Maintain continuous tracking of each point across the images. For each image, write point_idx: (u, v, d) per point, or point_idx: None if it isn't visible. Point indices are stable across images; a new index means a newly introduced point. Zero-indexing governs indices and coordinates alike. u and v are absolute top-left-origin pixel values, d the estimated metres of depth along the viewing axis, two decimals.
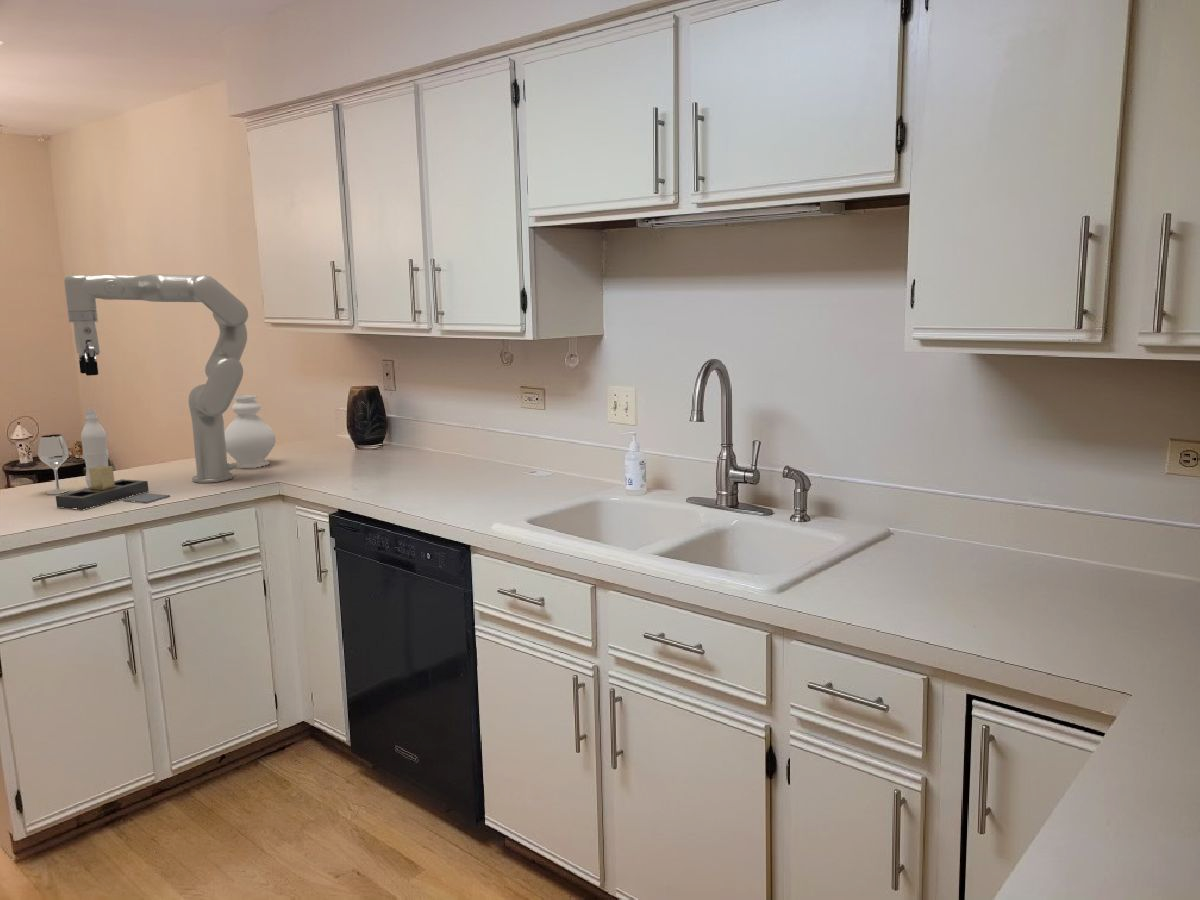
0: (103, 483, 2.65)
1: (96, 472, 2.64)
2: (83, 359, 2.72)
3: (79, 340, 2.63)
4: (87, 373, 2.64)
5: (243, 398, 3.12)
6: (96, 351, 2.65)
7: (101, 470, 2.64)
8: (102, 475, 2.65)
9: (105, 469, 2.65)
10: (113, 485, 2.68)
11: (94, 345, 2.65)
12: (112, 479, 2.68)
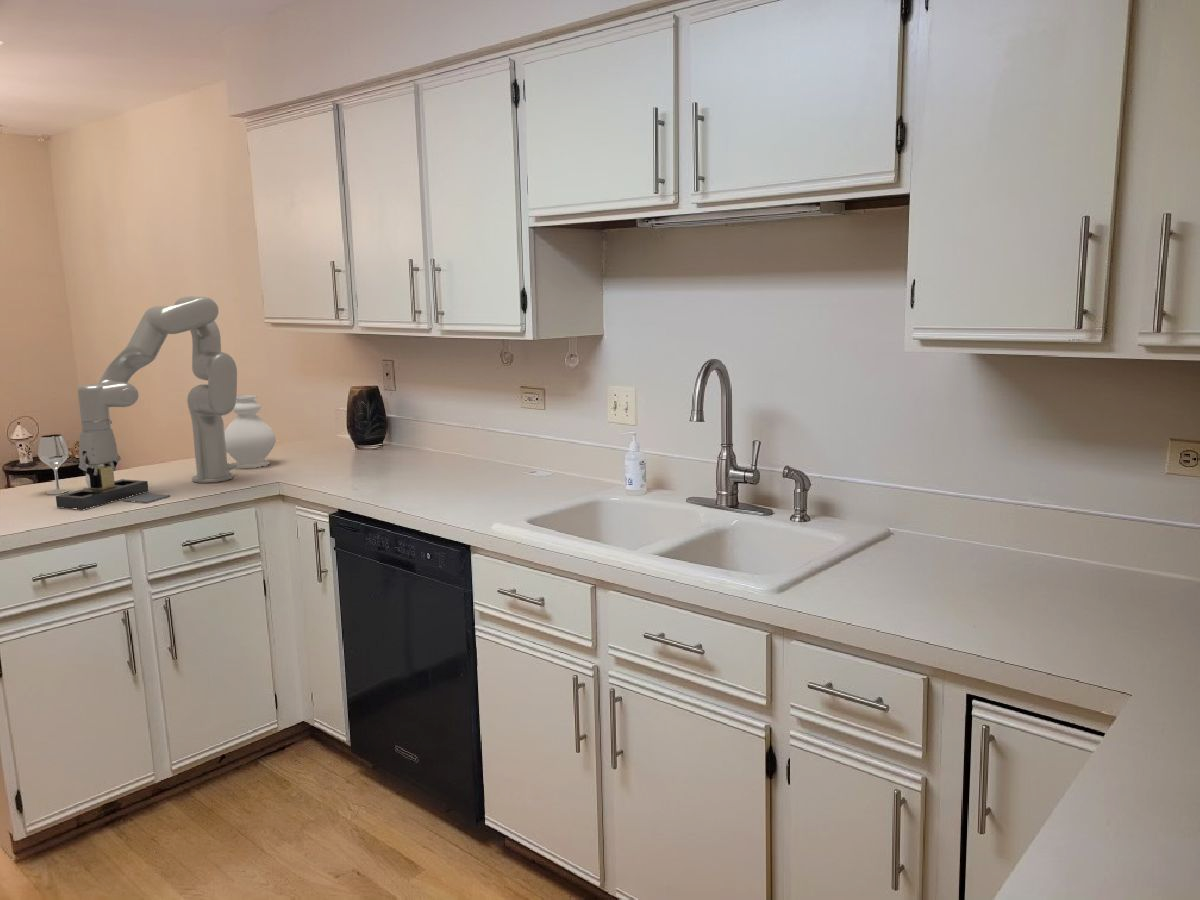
0: (103, 483, 2.65)
1: None
2: None
3: (114, 446, 2.68)
4: None
5: (243, 398, 3.12)
6: None
7: (101, 470, 2.64)
8: (102, 475, 2.65)
9: (105, 469, 2.65)
10: (113, 485, 2.68)
11: None
12: (112, 479, 2.68)
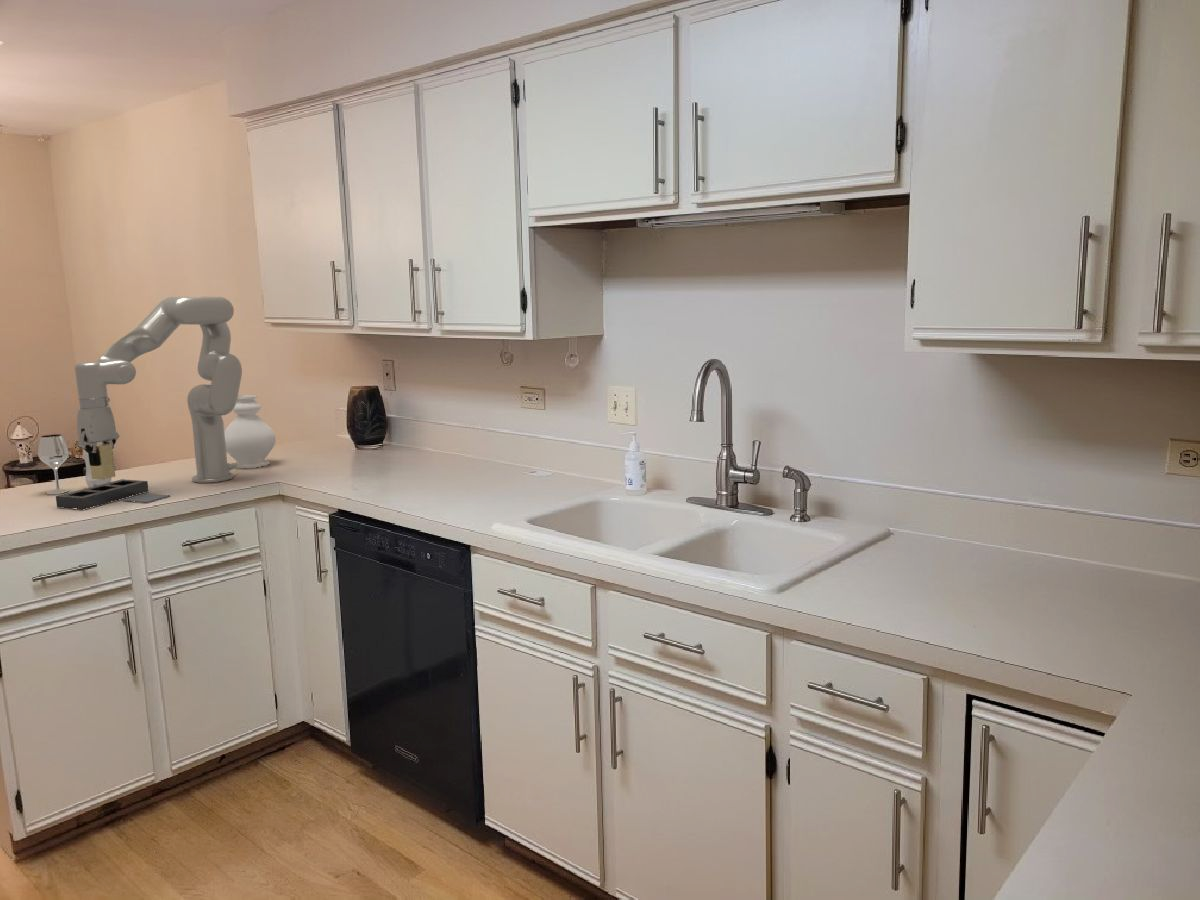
0: (102, 461, 2.64)
1: None
2: None
3: (113, 424, 2.67)
4: None
5: (243, 398, 3.12)
6: None
7: (100, 448, 2.63)
8: (101, 453, 2.64)
9: (104, 447, 2.64)
10: (112, 463, 2.68)
11: None
12: (111, 457, 2.67)
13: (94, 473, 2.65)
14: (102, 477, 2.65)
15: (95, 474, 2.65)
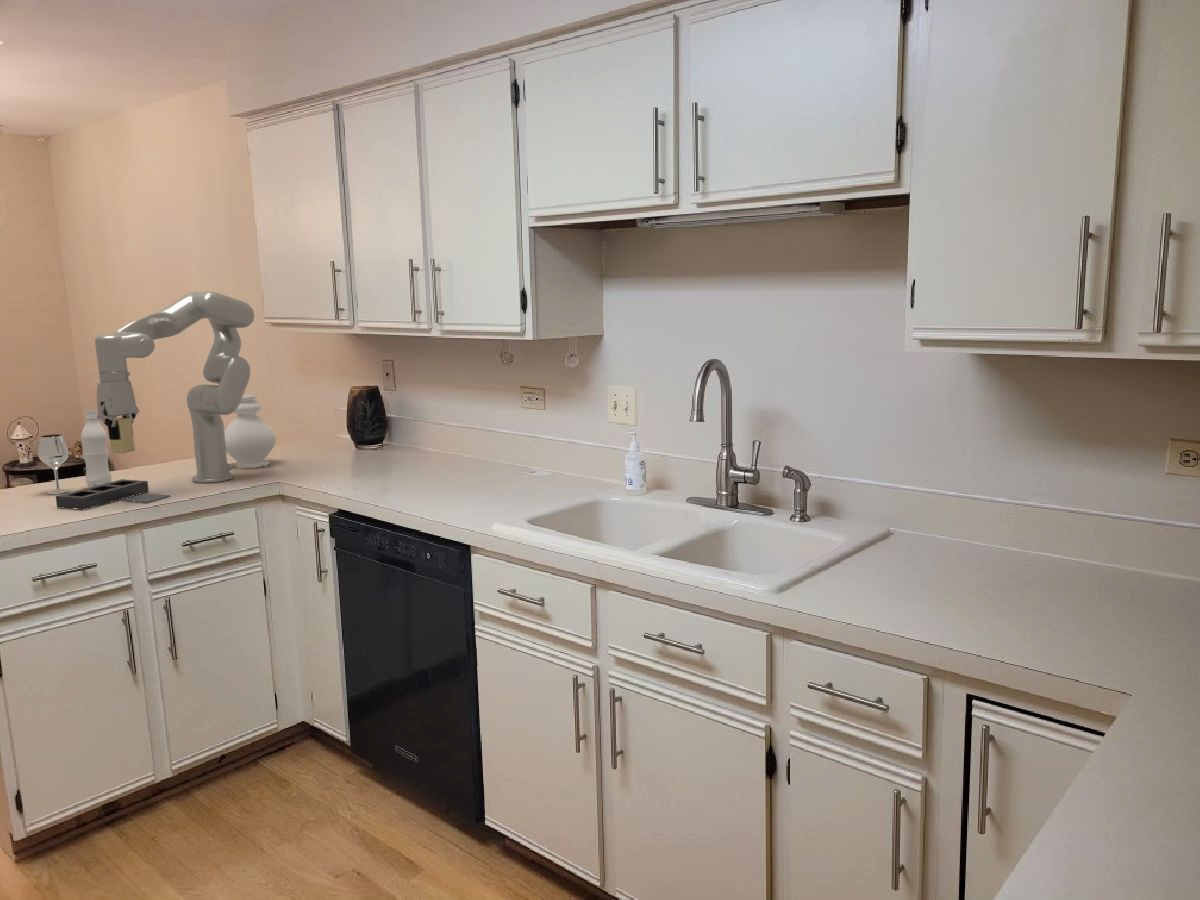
0: (121, 435, 2.63)
1: None
2: None
3: (133, 398, 2.66)
4: None
5: (243, 398, 3.12)
6: None
7: (119, 421, 2.62)
8: (121, 426, 2.62)
9: (123, 421, 2.63)
10: (131, 437, 2.66)
11: None
12: (130, 431, 2.66)
13: (114, 447, 2.64)
14: (121, 451, 2.63)
15: (114, 448, 2.64)
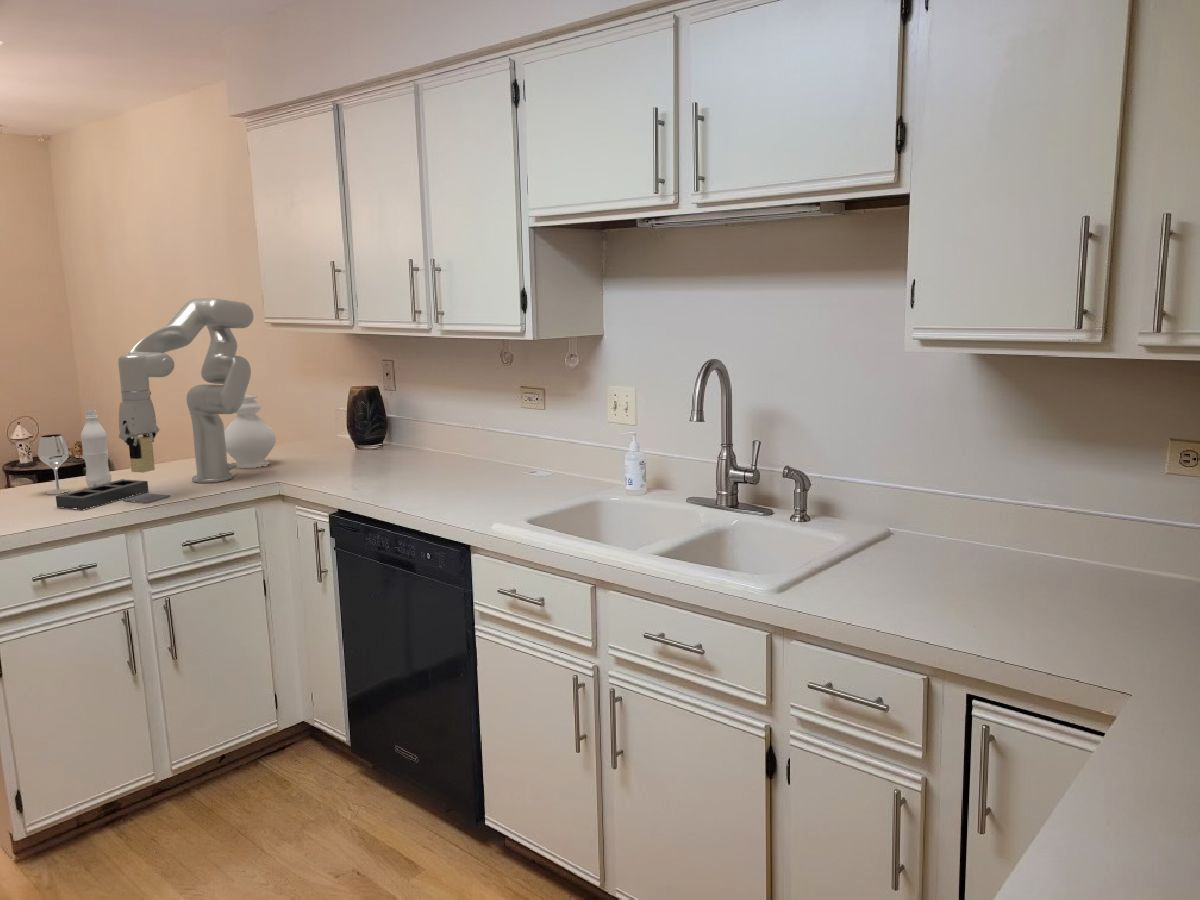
0: (142, 454, 2.63)
1: None
2: None
3: (154, 417, 2.67)
4: None
5: None
6: None
7: (141, 440, 2.63)
8: (142, 445, 2.63)
9: (144, 439, 2.64)
10: (152, 456, 2.67)
11: None
12: (151, 450, 2.66)
13: (134, 466, 2.64)
14: (142, 470, 2.64)
15: (135, 467, 2.64)
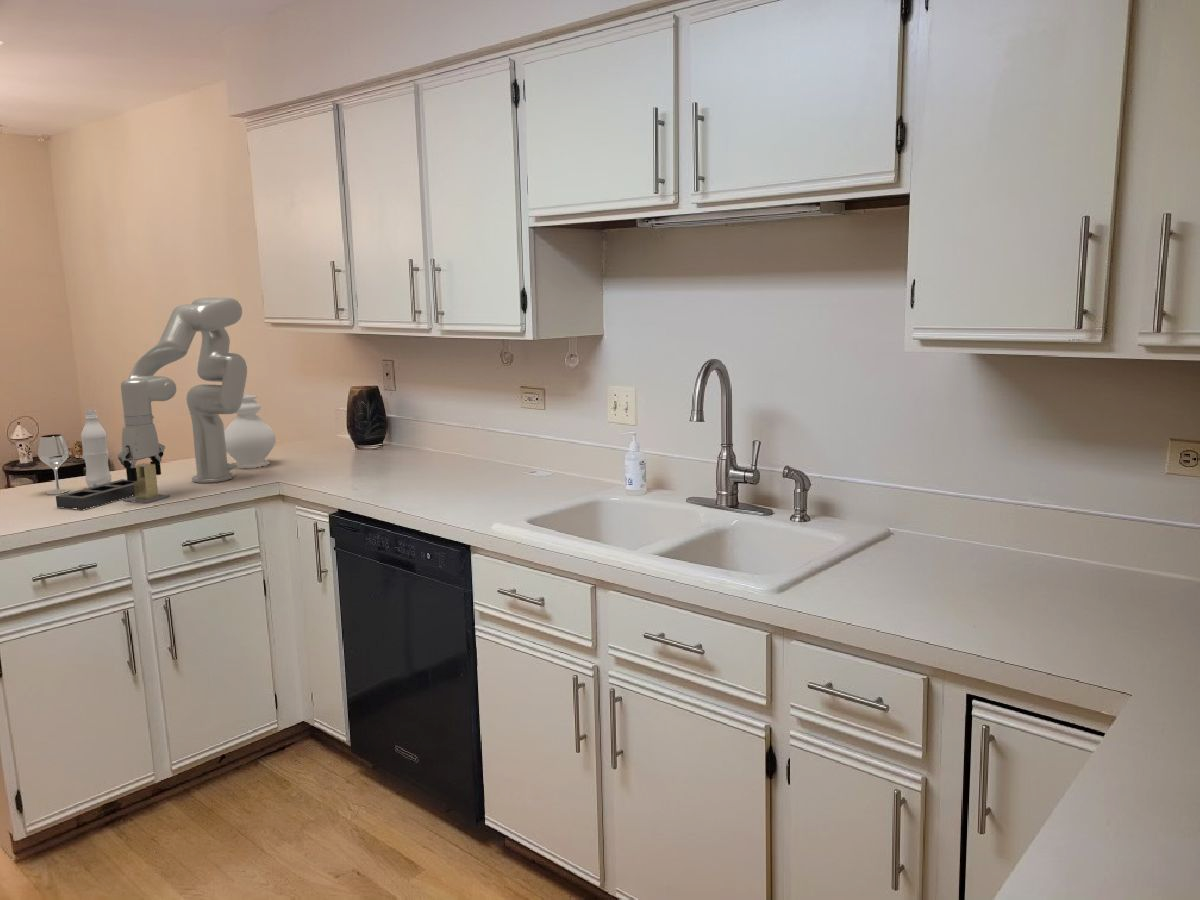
0: (146, 481, 2.65)
1: (139, 470, 2.65)
2: None
3: (156, 441, 2.68)
4: None
5: (243, 398, 3.11)
6: None
7: (144, 468, 2.64)
8: (145, 473, 2.65)
9: (148, 467, 2.66)
10: (155, 483, 2.69)
11: None
12: (154, 477, 2.68)
13: (138, 493, 2.66)
14: (146, 497, 2.66)
15: (139, 494, 2.66)
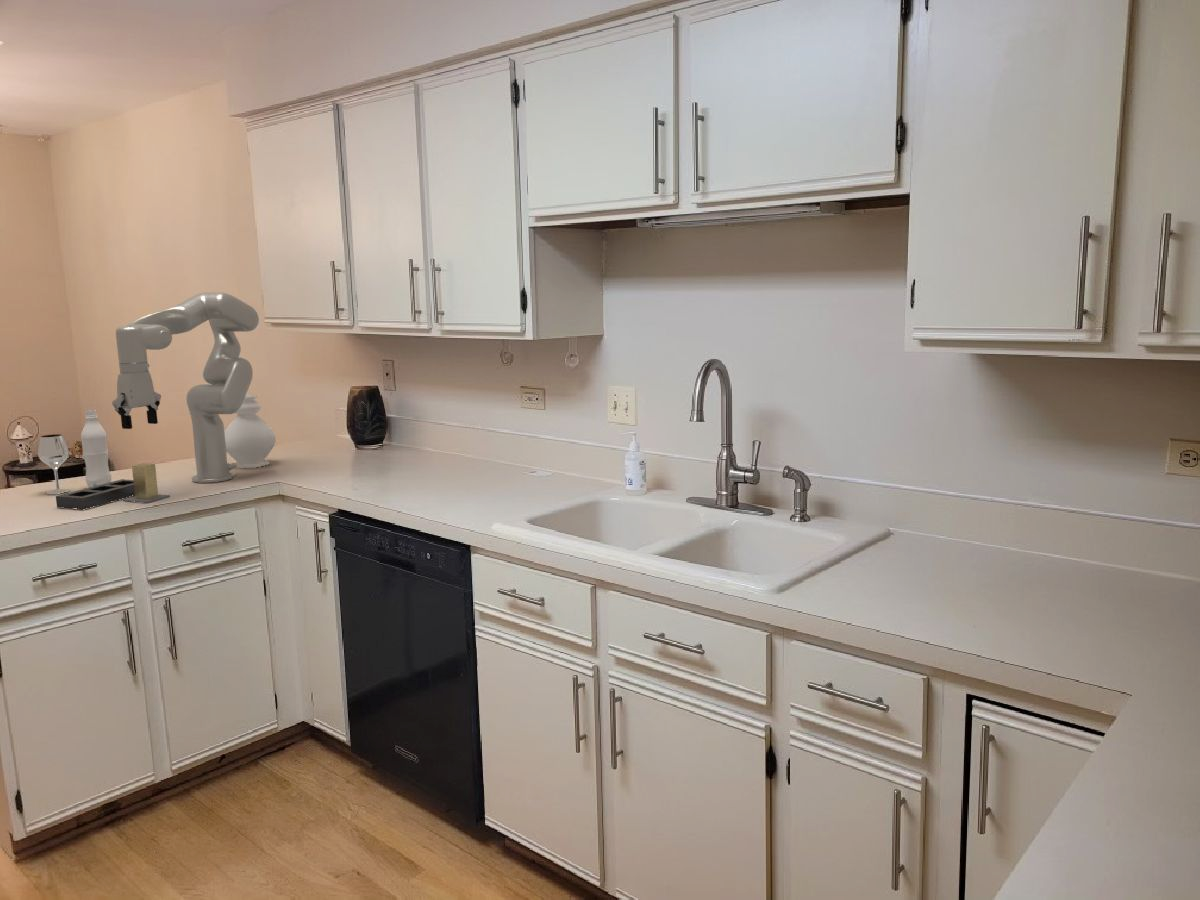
0: (146, 481, 2.65)
1: (139, 470, 2.65)
2: None
3: (152, 390, 2.66)
4: None
5: None
6: None
7: (144, 468, 2.64)
8: (145, 473, 2.65)
9: (148, 467, 2.66)
10: (155, 483, 2.69)
11: None
12: (154, 477, 2.68)
13: (138, 493, 2.66)
14: (146, 497, 2.66)
15: (139, 494, 2.66)
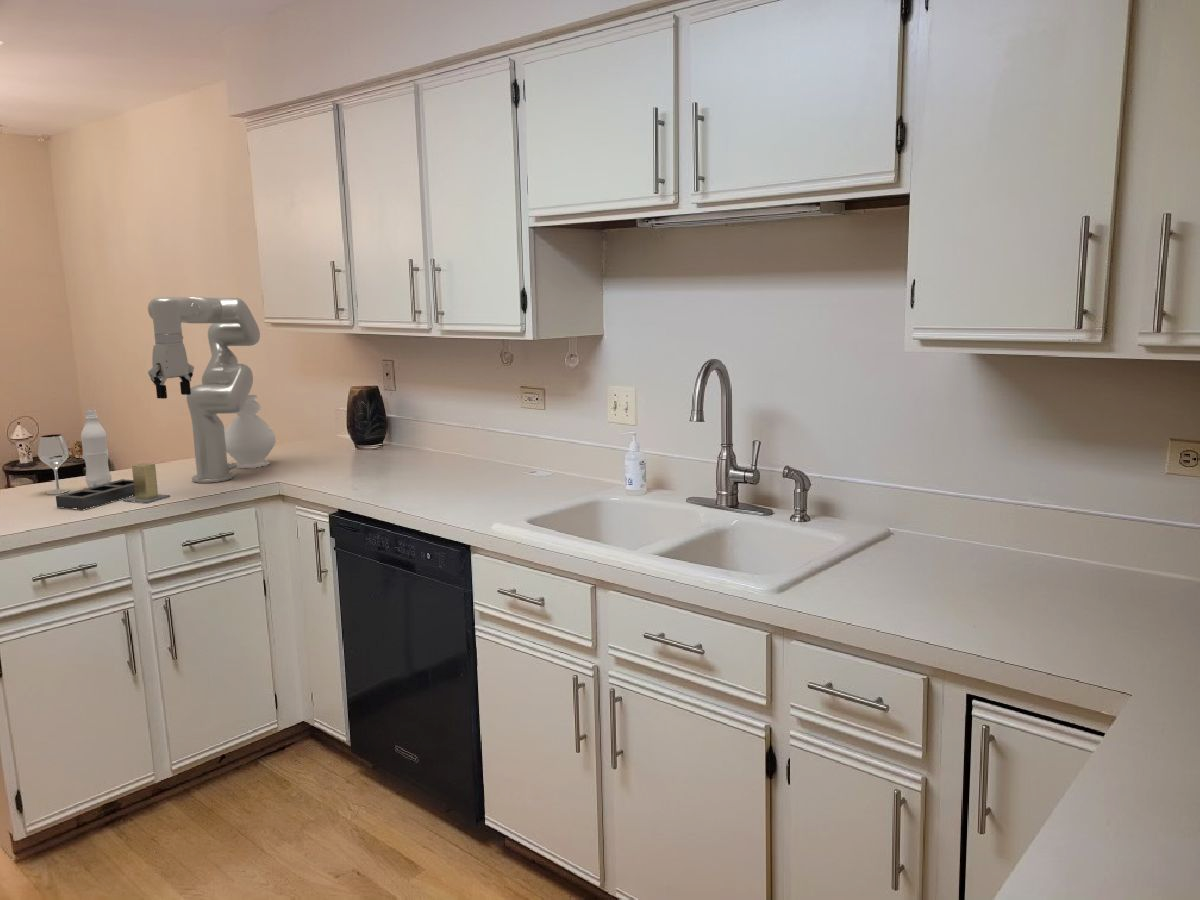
0: (146, 481, 2.65)
1: (139, 470, 2.65)
2: None
3: (186, 361, 2.71)
4: None
5: None
6: None
7: (144, 468, 2.64)
8: (145, 473, 2.65)
9: (148, 467, 2.66)
10: (155, 483, 2.69)
11: None
12: (154, 477, 2.68)
13: (138, 493, 2.66)
14: (146, 497, 2.66)
15: (139, 494, 2.66)
